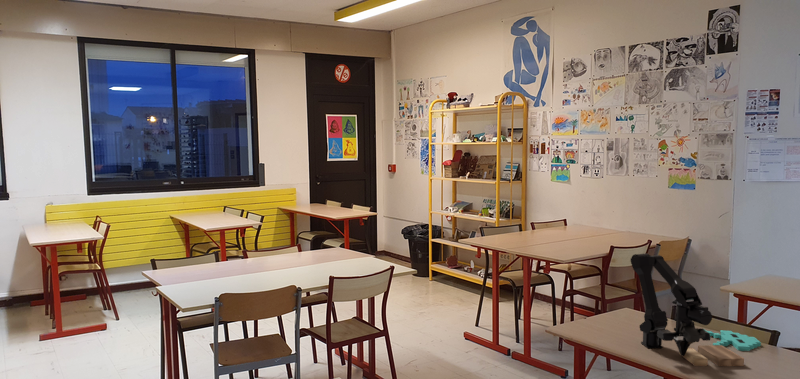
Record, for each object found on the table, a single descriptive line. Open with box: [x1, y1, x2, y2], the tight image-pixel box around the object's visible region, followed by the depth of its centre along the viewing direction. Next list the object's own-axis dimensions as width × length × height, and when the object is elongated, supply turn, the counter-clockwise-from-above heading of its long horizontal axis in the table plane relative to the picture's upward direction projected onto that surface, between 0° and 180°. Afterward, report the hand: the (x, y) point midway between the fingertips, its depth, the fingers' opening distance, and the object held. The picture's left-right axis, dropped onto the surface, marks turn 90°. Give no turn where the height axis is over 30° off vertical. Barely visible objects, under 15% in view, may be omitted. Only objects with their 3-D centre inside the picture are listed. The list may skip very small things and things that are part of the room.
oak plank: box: [678, 347, 709, 367], centre depth 218 cm, size 12×5×3 cm, turn 0°
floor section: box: [697, 344, 745, 367], centre depth 219 cm, size 10×14×3 cm
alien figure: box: [703, 328, 762, 352], centre depth 238 cm, size 20×2×20 cm
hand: (682, 355), depth 218 cm, fingers closed
